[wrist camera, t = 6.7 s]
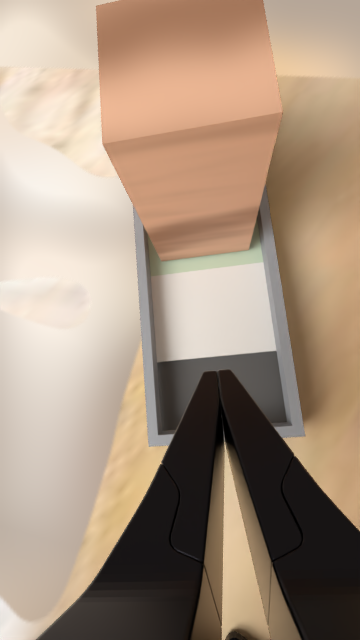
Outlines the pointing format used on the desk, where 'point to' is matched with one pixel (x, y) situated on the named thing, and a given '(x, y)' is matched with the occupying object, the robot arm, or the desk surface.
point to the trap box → (215, 329)
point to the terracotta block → (189, 117)
